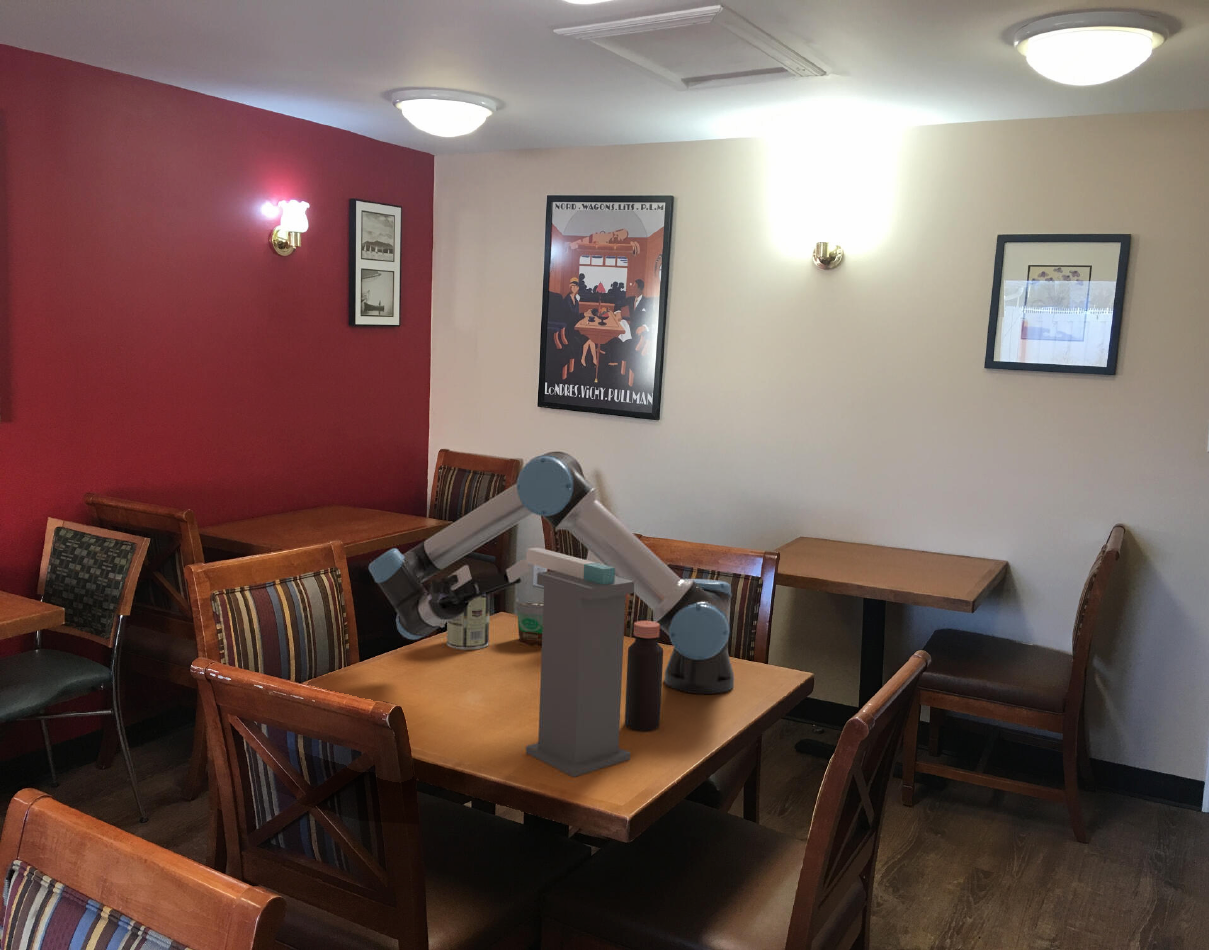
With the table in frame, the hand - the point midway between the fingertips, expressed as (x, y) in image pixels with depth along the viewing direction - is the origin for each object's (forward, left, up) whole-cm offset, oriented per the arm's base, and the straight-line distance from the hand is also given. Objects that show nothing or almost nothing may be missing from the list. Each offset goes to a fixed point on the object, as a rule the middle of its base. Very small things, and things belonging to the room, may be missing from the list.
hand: (498, 568), depth 192 cm
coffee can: (+14, -48, -29) cm, 58 cm away
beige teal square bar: (-15, +14, +3) cm, 21 cm away
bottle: (-29, 0, -29) cm, 41 cm away
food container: (-2, -52, -29) cm, 59 cm away
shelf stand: (-18, +17, -29) cm, 38 cm away
